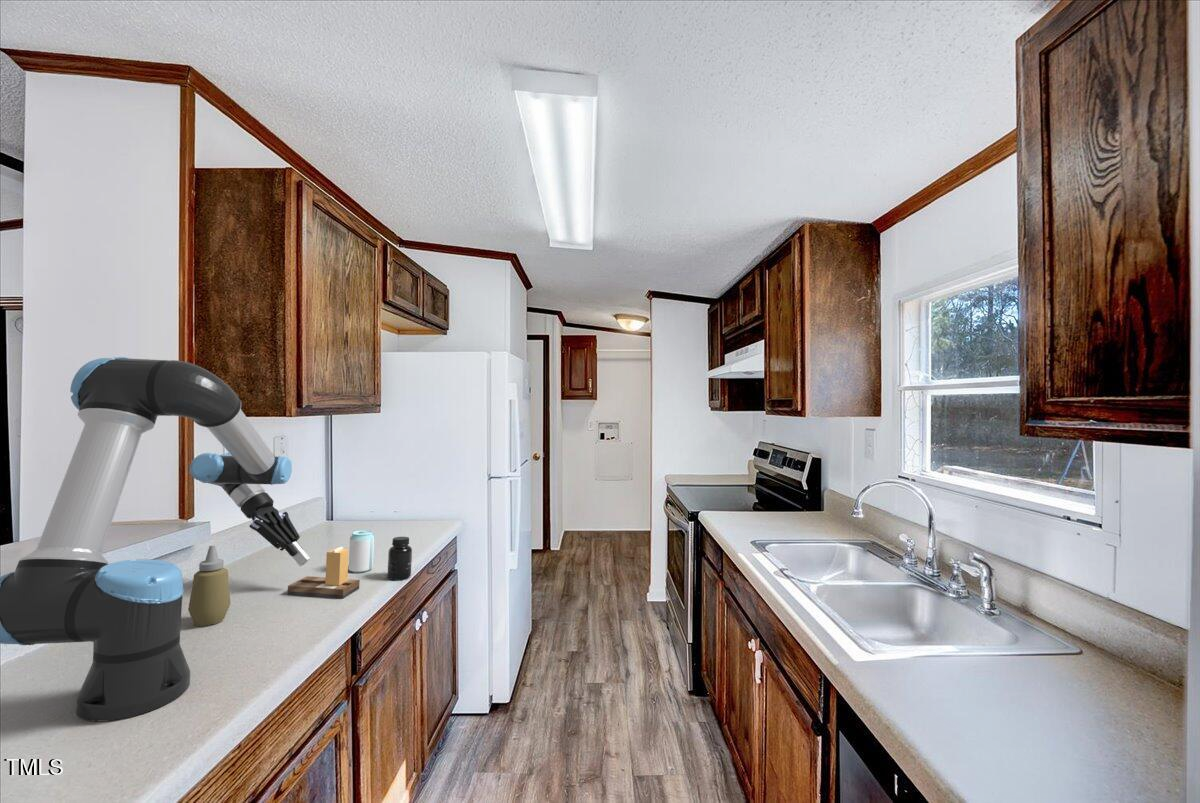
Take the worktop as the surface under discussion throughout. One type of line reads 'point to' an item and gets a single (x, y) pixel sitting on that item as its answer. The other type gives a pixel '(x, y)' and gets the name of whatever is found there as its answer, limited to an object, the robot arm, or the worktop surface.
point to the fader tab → (337, 566)
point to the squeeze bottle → (210, 591)
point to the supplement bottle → (399, 559)
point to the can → (361, 551)
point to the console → (322, 588)
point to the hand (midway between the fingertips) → (305, 562)
